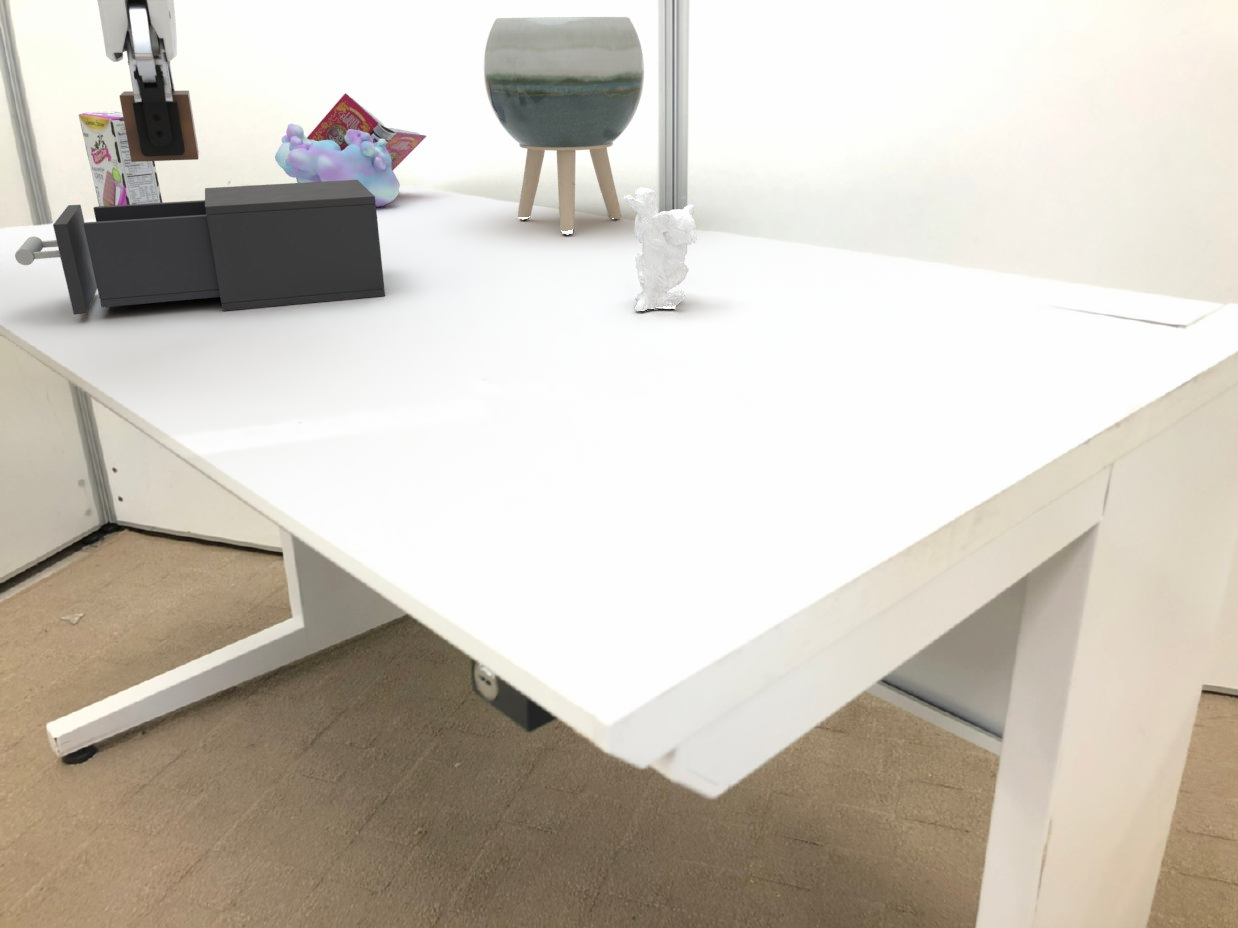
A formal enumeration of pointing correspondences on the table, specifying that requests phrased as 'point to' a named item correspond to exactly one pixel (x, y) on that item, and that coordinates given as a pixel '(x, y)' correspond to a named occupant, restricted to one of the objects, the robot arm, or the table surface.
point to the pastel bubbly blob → (348, 150)
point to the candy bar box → (116, 162)
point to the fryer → (294, 243)
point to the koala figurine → (660, 249)
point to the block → (185, 121)
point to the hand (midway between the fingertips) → (164, 148)
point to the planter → (564, 96)
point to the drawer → (132, 254)
